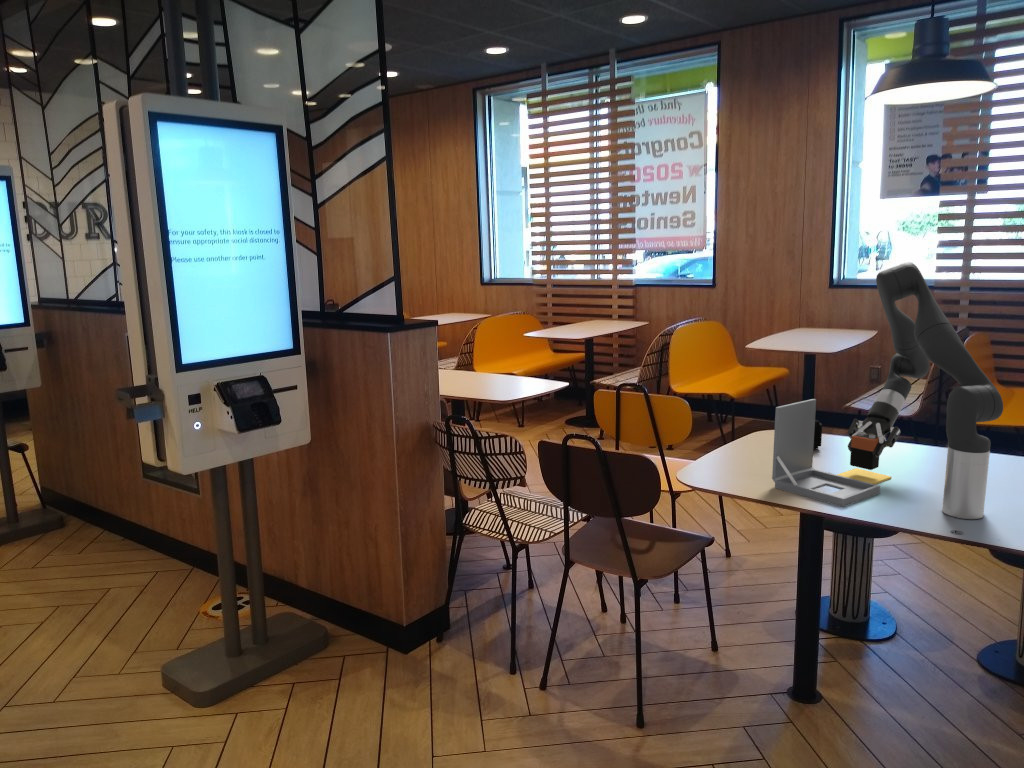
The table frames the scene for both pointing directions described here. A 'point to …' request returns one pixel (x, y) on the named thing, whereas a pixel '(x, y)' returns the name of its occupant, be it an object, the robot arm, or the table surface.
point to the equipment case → (808, 459)
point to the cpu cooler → (817, 434)
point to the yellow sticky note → (865, 476)
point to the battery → (864, 451)
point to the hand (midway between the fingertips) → (862, 453)
